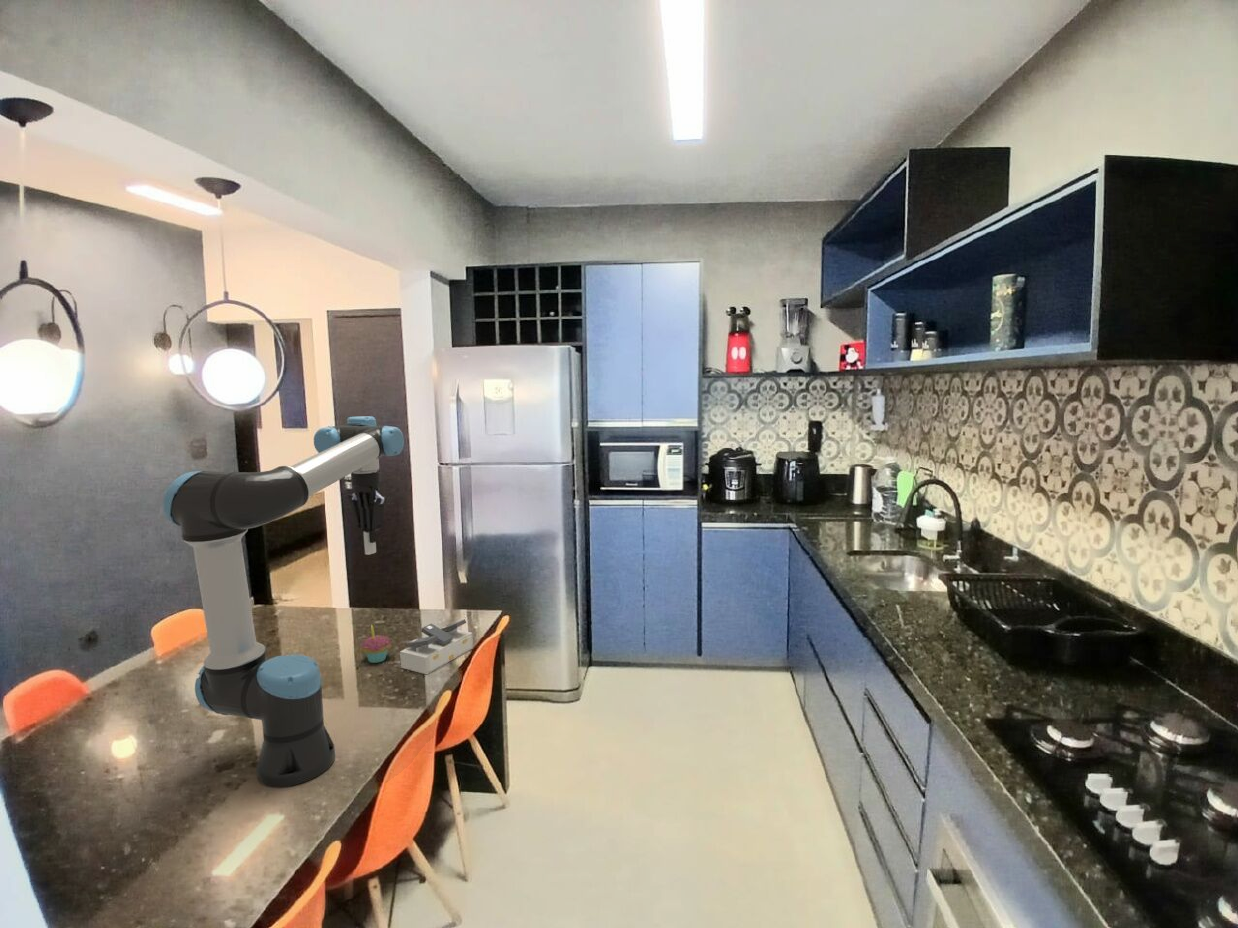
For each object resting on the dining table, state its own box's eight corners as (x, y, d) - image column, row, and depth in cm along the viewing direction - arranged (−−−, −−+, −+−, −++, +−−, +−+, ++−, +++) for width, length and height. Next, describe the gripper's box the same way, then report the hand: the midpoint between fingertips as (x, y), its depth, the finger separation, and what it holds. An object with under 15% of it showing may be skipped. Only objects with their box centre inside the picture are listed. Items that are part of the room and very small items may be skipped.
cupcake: (385, 665, 186) (382, 626, 184) (356, 665, 186) (354, 626, 184) (396, 653, 194) (393, 615, 193) (368, 653, 194) (366, 615, 193)
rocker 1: (428, 644, 180) (427, 640, 180) (406, 647, 184) (405, 643, 184) (438, 639, 184) (437, 635, 184) (416, 642, 188) (415, 638, 188)
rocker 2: (443, 645, 186) (443, 641, 186) (421, 631, 190) (421, 627, 189) (452, 640, 190) (453, 636, 189) (430, 626, 193) (431, 623, 193)
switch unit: (427, 674, 179) (426, 653, 179) (401, 667, 184) (399, 646, 183) (473, 648, 197) (473, 628, 196) (448, 642, 202) (447, 623, 201)
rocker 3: (457, 627, 191) (456, 623, 191) (437, 634, 195) (436, 630, 195) (466, 622, 195) (464, 618, 195) (446, 630, 199) (445, 626, 199)
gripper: (392, 470, 177) (397, 552, 180) (359, 468, 183) (365, 547, 186) (371, 474, 170) (376, 559, 173) (337, 472, 176) (343, 554, 179)
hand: (370, 553), depth 180 cm, fingers closed
